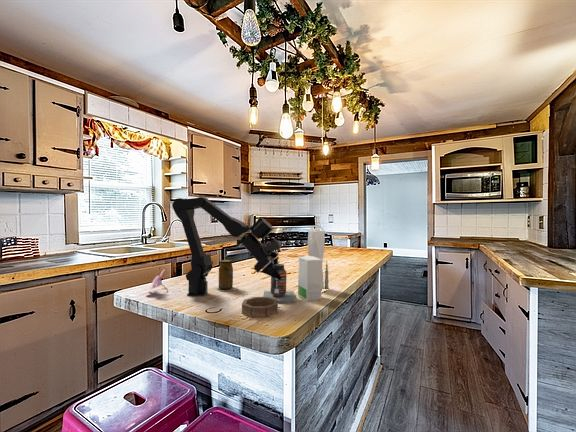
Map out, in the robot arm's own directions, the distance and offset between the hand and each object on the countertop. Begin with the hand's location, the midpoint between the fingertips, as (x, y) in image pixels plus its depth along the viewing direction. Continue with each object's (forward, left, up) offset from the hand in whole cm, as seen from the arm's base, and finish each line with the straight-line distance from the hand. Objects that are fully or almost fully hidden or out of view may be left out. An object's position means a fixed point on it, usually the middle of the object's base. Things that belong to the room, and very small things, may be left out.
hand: (282, 277), depth 108 cm
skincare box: (+11, +1, -8) cm, 14 cm away
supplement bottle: (-1, 0, -7) cm, 7 cm away
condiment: (-24, +14, -9) cm, 29 cm away
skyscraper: (+15, +12, -9) cm, 21 cm away
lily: (-51, +7, -9) cm, 52 cm away
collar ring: (-7, -14, -8) cm, 18 cm away
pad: (-1, 0, -8) cm, 8 cm away
